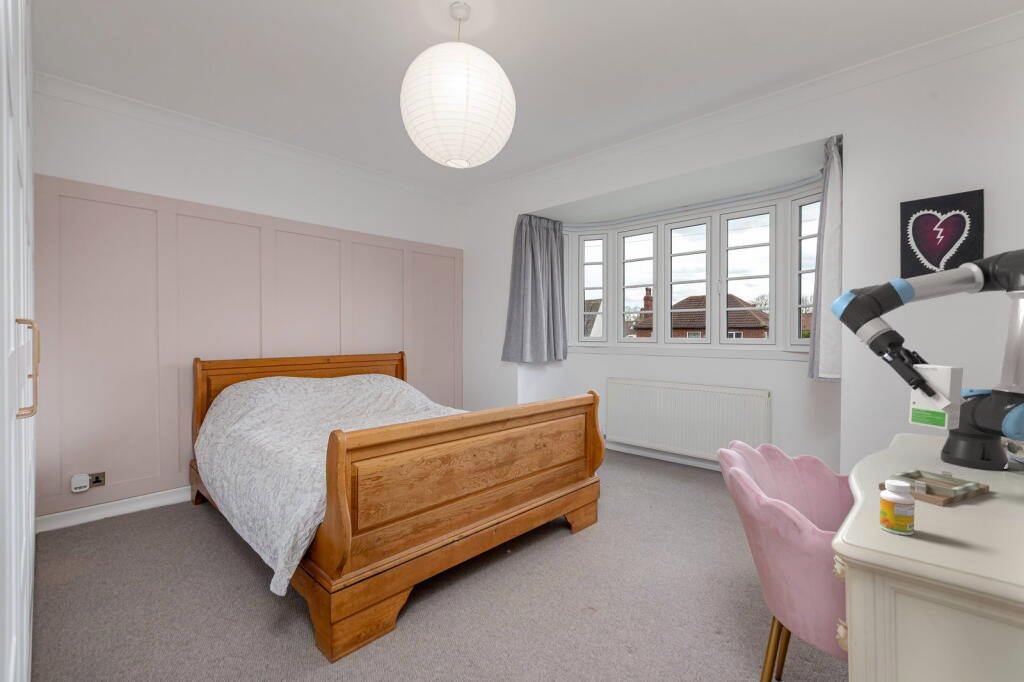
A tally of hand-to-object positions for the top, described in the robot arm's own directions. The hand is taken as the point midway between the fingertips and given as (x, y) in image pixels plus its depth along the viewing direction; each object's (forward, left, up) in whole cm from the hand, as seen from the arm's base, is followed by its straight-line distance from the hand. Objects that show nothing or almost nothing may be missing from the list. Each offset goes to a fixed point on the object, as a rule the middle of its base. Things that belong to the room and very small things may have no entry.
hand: (953, 405), depth 118 cm
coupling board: (0, -3, -22) cm, 23 cm away
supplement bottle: (+37, +6, -23) cm, 44 cm away
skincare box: (0, -4, -6) cm, 7 cm away
